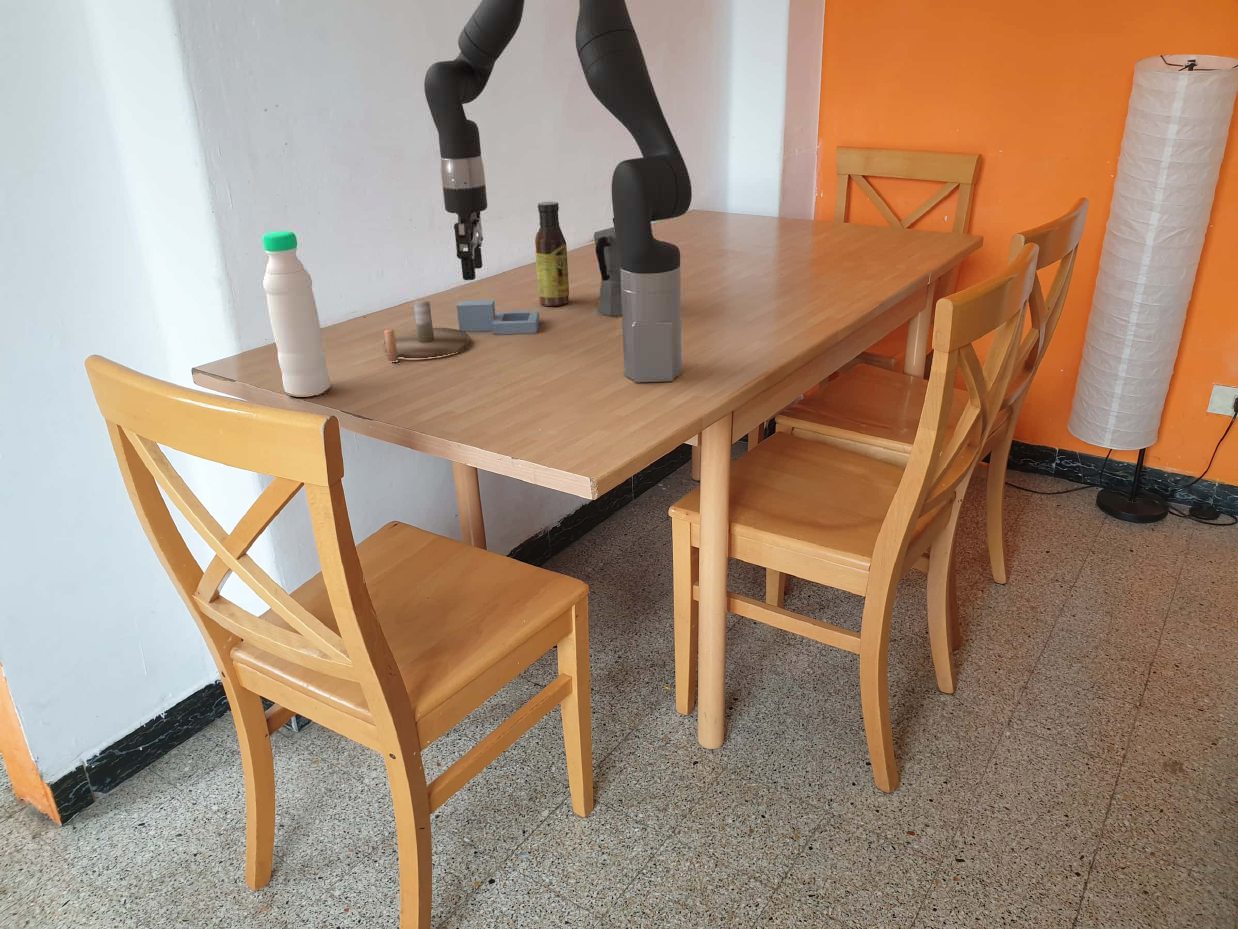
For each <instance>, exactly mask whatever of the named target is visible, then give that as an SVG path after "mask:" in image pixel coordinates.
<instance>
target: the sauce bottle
mask: <svg viewBox="0 0 1238 929" xmlns="http://www.w3.org/2000/svg"><path fill="white" fill-rule="evenodd" d="M559 210H560V207H559V202H557V201H543V202H539V203H537V211H538V213H539V214H538V215H539V228H538V232H536V235H535V238H534V239H535V241H534V243H535V264H536V265H535V266H536V279H537V281H536V282H537V293H538V294H537V295H538V298H539V299H538V301H539V304H540V305H542V306H545V307H557V306H562V305H566V304H567V303H568V302H569V300H570V298H569V296H570V284H569V281H570V280H569V268H568V266H569V265H568V253H567V252H568V248H567V242H566V238H565V236H564V233H563V231H562V230H561V226H560V222H559Z"/></svg>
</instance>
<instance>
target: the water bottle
mask: <svg viewBox="0 0 1238 929" xmlns="http://www.w3.org/2000/svg"><path fill="white" fill-rule="evenodd" d="M262 245H263V248H264V250H265V253H266V254H267V255H268V256H269V258H268V262H267V265H266V271H265V274H264V277H263V282H262V285H263V290H264V291H265V293H266V299H267V300H266V301H267V309H268V314H269V319H270V325H271V329H272V330H271V331H272V334H273V337H274V341H275V344H276V345H275V346H276V348H277V358H278V364H279V367H280V370H281V376H282V377H281V378H282V385H283V391H284V390H285V391H284V393H285V392H287V393H290V394H294V395H311V394H317V393H321V392H323V391H325V390H327V389H328V388H329V389H330V387H331V380H330V376H329V371H328V368H327V366H326V365H327V364H326V363H327V362H326V361H327V360H326V354H325V349H324V346H323V344H322V332H321V327H320V326H321V325H320V320H319V314H318V309H317V304H316V300H315V299H316V298H315V297H314V296H315V295H314V292H313V288H312V286H313V279H312V277H311V275H310V273H309V272H308V270H307V269H306V268H305V267H304V264H303V262H302V261H301V260H300V259H299V258H298V256H297V253H296V252H297V251H298V240H297V236H296V234H295V233H294V232H292V231H286V230H283V231H282V230H281V231H273V232H269V233H266V234H264V235H263V236H262ZM329 389H328V390H329ZM328 390H327V391H328Z"/></svg>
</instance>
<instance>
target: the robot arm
mask: <svg viewBox="0 0 1238 929" xmlns="http://www.w3.org/2000/svg"><path fill="white" fill-rule="evenodd" d="M578 2H579V10H578V16H577V22H576V26H575V27H576V28H575V48H576V52H577V56H578V60H579V61H580V62H579V63H580V65H581V68H582V71H583V75H584V77H585V81H586V83H587V85H588V88H589V90H590V91H591V92H592V94H593V95H594V97H595V98H596V99H597V101H598V102H599V103H600V104H601V105H602V106H603V107H604V108H605V109H606V110H607V111H609V112H610V113H611V114H612V116H614V118H616V120H618V121H619V123H621V124H622V125H623V126H624V128H625V129H626V130H628V132H629V133H630V135H631V137H632V138H633V140H635V143H636V144H637V146H638V149H639V151H640V153H641V155H642V157H636V158H630V159H625V160H623V161H620V162H619V163H618V164H617V165H616V166H615V168H614V171H613V174H612V178H611V179H612V180H611V203H612V212H613V215H612V216H613V218H614V224H613V227H614V226H615V239H616V246H617V250H618V253H619V257H620V273H621V301H622V317H621V318H622V322H621V323H622V324H621V325H622V345H623V347H622V348H623V364H624V366H623V367H624V368H623V369H624V376H626V377H627V378H628V379H631V380H632V381H633V383H654V382H655V383H656V382H658V383H659V382H674V379H675V378H678V377H679V376H680V375H681V374H682V363H683V362H682V361H683V360H682V359H683V358H682V353H683V352H682V308H681V307H682V304H681V303H682V302H681V301H682V298H681V297H682V292H681V288H682V287H681V285H682V284H681V283H682V282H681V281H682V280H681V279H682V278H681V277H682V276H681V251H680V248H679V247H678V246H677V245H676V244H674V243H671V242H666V241H663V240H659V239H657V238H655V236H654V235H653V229H652V222H657V221H663V220H669V219H673V218H678V217H681V216H683V215H685V214H686V213H687V212H688V210H689V209H690V207H691V205H692V204H691V203H692V197H693V193H692V192H693V190H692V182H691V178H690V174H689V171H688V168H687V165H686V163H685V160H684V158H683V155H682V153H681V150H680V148H679V147H678V144H677V142H676V139H675V137H674V135H673V133H672V131H671V128H670V127H669V124H668V122H667V119H666V117H665V114H664V113H663V110H662V107H661V104H660V101H659V99H658V97H657V94H656V91H655V87H654V86H653V85H654V84H653V82H652V79H651V76H650V74H649V70H648V66H647V63H646V60H645V56H644V54H643V50H642V48H641V47H642V46H641V45H640V42H639V41H640V40H639V39H638V34H637V33H636V30H635V28H634V27H635V26H634V25H633V23H632V22H633V21H632V20H631V16H630V13H629V11H628V7H627V6H628V5H627V3H626V0H578ZM524 6H525V0H481V2H480V3H479V5H478V6H477V7H476V9H475V11H474V12H473V13H472V15H471V16H470V18H469V20H468V21H467V22H466V24H465V25H464V27H463V28H462V30H461V31H460V34H459V36H458V40H457V43H458V48H459V50H460V52H459V54H458V55H457V57H455V59H454V60H443V61H442V60H441V61H437V62H434V63H432V65H431V66H429V68H428V69H427V71H426V73H425V77H424V81H423V82H424V84H423V85H424V88H423V89H424V95H425V100H426V103H427V106H428V108H429V111H430V114H431V117H432V119H433V123H434V126H435V127H436V130H437V133H438V134H437V135H438V144H439V153H440V174H441V175H440V177H441V185H442V193H443V201H444V209H445V211H446V212H447V213H449V214H456V215H457V222H455V223H454V225H453V229H454V237H455V238H454V239H455V248H456V257H457V259H459V260H460V264H461V273H462V279H463V280H464V281H474V280H475V279H476V277H477V276H476V269H482V267H483V259H482V258H483V256H482V246H483V241H484V237H483V228H482V219H481V212H483V211H486V210H487V209H488V198H487V187H486V178H485V177H486V176H485V167H484V163H483V157H482V149H481V140H480V139H481V138H480V132H479V128H478V125H477V123H476V122H475V121H473V120H471V119H468V118H467V116H466V113H465V110H464V106H463V105H464V104H470V103H471V102H473V101H474V100H476V99H477V98H479V96H480V95H481V94H482V93H483V91H484V89H485V87H486V86H487V83H488V81H489V79H490V77H491V74H492V72H493V70H494V67H495V63H496V61H497V60H498V59H499V58H500V56H501V55H502V54H503V52H504V51H505V49H506V48H507V47H508V45H509V43H510V42H511V41H512V39H513V38H514V36H515V35H516V33H517V31H518V30H519V27H520V25H521V21H522V17H523V13H524ZM464 249H467V250H464Z"/></svg>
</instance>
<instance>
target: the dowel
mask: <svg viewBox="0 0 1238 929" xmlns="http://www.w3.org/2000/svg"><path fill="white" fill-rule="evenodd" d="M383 332H384V340H385V341H386V346H387V353H388V356H387V360H388V362H389V361H396V360H398V361H399V359H398V355H397V348H396V341H395V335H396V334H395V330H394V329H391V328H390V329H385V330H384V331H383Z"/></svg>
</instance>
